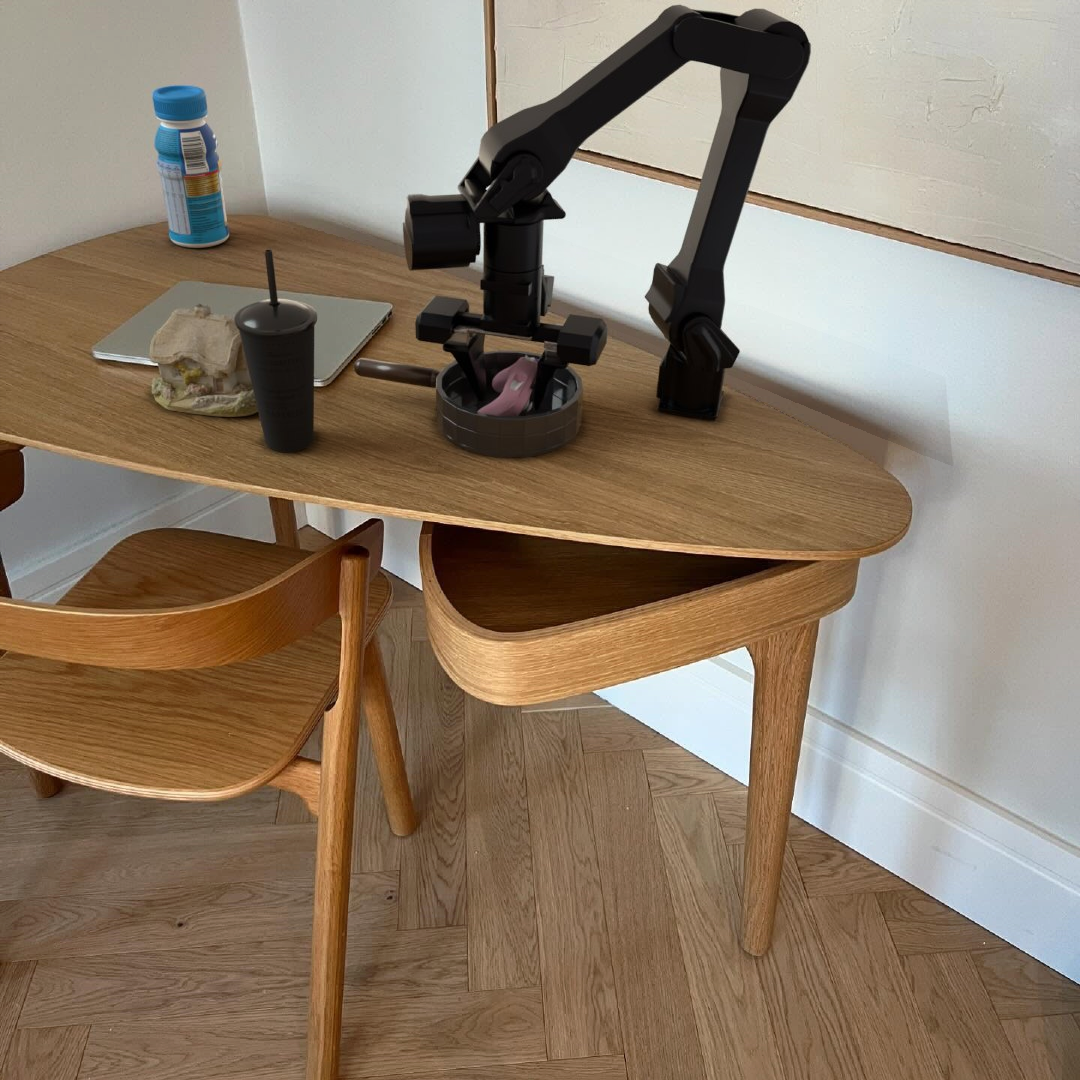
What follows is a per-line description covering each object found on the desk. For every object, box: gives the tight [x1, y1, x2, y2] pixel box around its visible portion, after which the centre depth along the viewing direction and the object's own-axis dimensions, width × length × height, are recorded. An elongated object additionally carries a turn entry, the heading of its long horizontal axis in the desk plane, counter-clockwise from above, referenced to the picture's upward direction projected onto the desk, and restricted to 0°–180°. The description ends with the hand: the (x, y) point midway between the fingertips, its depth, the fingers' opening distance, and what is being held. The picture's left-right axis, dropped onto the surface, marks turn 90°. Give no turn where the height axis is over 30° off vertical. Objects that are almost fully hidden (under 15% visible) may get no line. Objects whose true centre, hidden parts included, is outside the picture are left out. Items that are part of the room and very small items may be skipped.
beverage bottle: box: [151, 84, 230, 249], centre depth 149 cm, size 8×8×20 cm
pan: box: [435, 349, 584, 459], centre depth 115 cm, size 15×15×4 cm
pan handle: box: [353, 357, 441, 389], centre depth 116 cm, size 10×2×2 cm, turn 75°
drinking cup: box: [233, 249, 318, 453], centre depth 105 cm, size 8×8×20 cm
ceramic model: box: [148, 303, 258, 418], centre depth 116 cm, size 14×11×10 cm
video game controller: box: [478, 355, 538, 416], centre depth 114 cm, size 10×5×7 cm, turn 168°
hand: (510, 404), depth 115 cm, fingers closed on video game controller, 6 cm apart
